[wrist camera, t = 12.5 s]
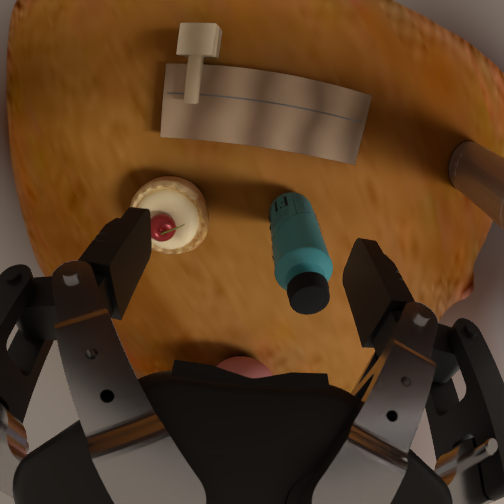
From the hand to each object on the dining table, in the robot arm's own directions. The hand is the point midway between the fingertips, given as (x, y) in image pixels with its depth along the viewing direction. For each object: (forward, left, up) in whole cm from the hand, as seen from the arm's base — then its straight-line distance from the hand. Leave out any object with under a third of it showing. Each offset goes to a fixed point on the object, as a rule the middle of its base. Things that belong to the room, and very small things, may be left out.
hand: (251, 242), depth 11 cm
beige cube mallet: (+8, -7, -30) cm, 32 cm away
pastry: (+10, +15, -30) cm, 35 cm away
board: (-1, -2, -30) cm, 30 cm away
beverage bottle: (-7, +12, -30) cm, 33 cm away
